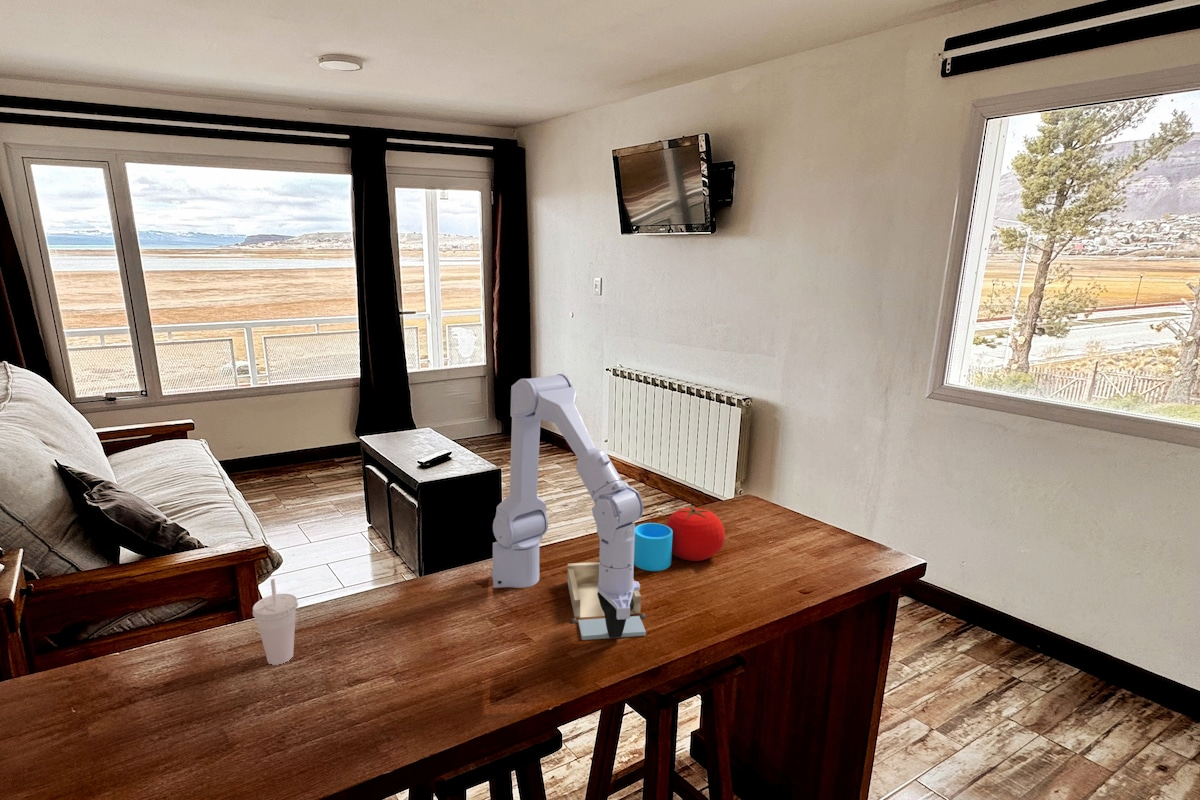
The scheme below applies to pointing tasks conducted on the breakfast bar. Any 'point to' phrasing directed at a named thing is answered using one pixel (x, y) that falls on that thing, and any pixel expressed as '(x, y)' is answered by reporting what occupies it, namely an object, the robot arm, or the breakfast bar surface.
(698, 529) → the tomato
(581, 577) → the box
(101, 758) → the breakfast bar surface
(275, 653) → the smoothie
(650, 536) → the mug
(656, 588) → the breakfast bar surface
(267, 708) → the breakfast bar surface
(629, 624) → the panel
